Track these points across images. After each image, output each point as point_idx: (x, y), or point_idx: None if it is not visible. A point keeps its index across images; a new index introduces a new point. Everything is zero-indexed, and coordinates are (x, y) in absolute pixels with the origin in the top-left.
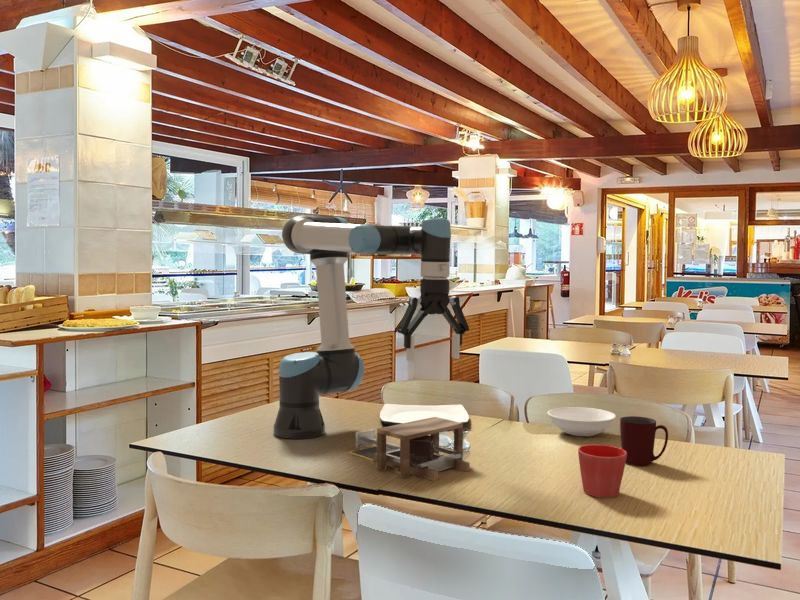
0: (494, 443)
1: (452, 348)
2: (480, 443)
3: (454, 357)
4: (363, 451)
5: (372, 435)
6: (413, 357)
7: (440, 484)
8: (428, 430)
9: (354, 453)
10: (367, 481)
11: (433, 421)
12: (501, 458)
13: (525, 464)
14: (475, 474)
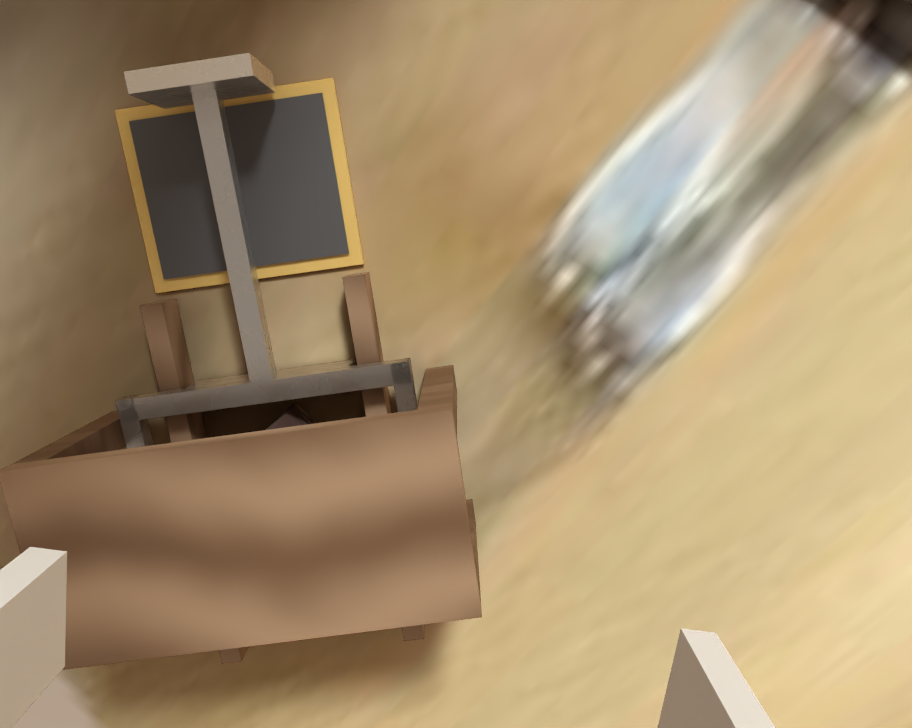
0: (820, 362)
1: (723, 725)
2: (767, 325)
3: (668, 696)
4: (180, 152)
5: (245, 85)
6: (28, 698)
7: (229, 683)
8: (224, 642)
9: (132, 149)
10: (6, 520)
11: (369, 499)
12: (655, 561)
13: (669, 669)
14: (414, 663)
